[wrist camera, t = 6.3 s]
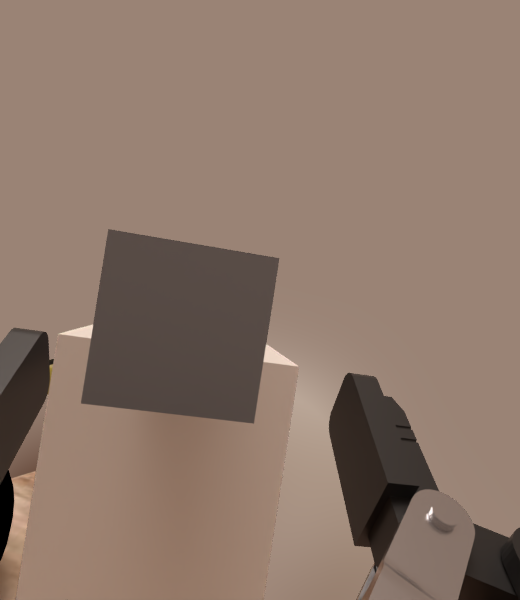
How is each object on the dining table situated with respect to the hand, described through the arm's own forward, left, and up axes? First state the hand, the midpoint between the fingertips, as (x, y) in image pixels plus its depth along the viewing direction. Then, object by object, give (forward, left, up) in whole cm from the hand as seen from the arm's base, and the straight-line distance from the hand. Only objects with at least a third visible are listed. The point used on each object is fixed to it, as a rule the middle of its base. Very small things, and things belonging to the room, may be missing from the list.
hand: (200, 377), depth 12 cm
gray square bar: (-8, +11, -1) cm, 13 cm away
